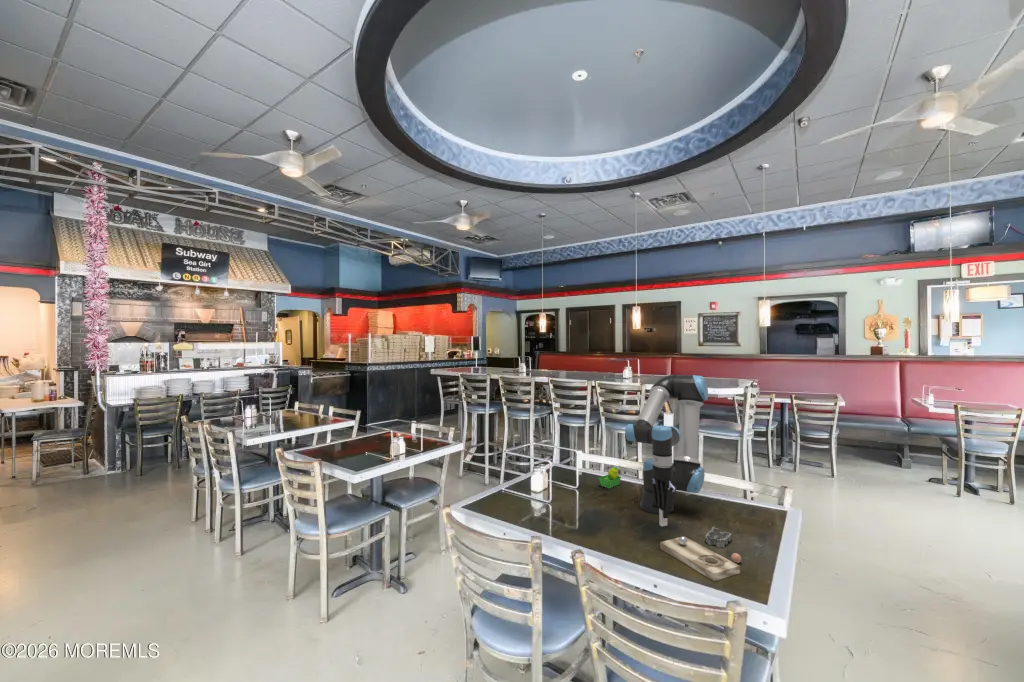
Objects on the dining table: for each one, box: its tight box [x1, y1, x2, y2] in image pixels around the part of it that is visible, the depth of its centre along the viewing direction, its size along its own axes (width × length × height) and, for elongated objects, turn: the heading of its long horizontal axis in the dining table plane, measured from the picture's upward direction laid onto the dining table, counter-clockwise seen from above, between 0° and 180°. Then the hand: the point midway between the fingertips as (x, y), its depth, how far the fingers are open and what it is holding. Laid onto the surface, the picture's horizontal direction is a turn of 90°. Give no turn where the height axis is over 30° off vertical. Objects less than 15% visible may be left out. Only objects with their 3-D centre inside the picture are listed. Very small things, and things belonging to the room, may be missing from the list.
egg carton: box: [704, 525, 732, 548], centre depth 169 cm, size 11×8×4 cm
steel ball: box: [678, 535, 687, 546], centre depth 162 cm, size 3×3×3 cm
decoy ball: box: [730, 552, 742, 564], centre depth 153 cm, size 3×3×3 cm
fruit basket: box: [598, 466, 622, 489], centre depth 237 cm, size 11×9×11 cm
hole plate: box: [659, 536, 741, 582], centre depth 155 cm, size 12×25×2 cm, turn 23°
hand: (663, 525), depth 171 cm, fingers closed
